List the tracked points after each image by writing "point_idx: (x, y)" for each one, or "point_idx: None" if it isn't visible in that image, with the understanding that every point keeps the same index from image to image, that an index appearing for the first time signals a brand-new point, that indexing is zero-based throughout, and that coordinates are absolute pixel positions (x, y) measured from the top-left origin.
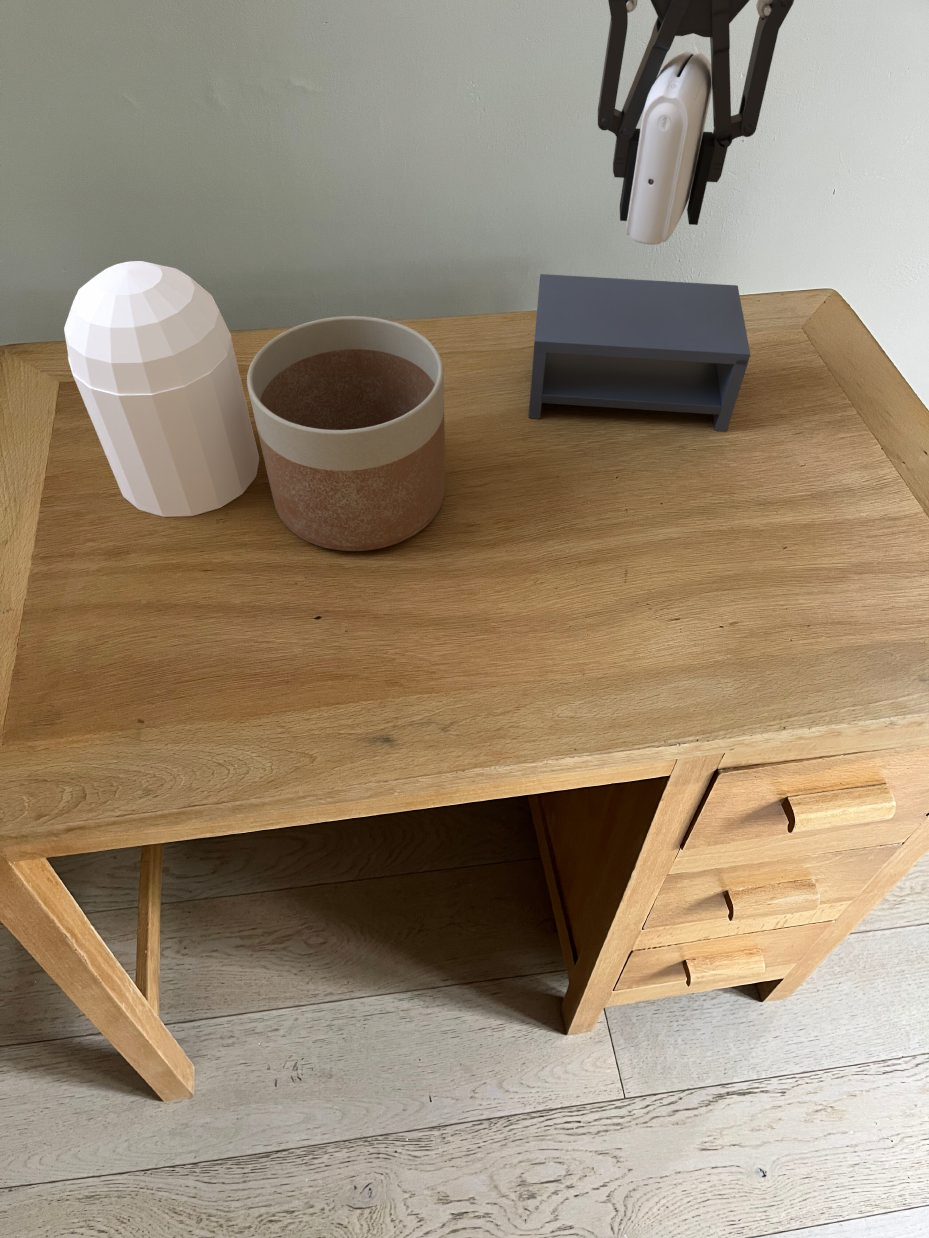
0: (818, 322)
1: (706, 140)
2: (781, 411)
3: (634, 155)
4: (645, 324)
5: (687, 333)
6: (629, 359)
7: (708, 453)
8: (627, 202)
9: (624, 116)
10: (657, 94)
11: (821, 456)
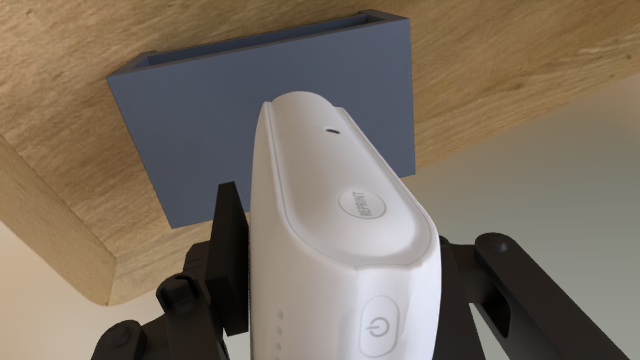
0: (102, 273)
1: (231, 299)
2: (90, 112)
3: None
4: None
5: (207, 101)
6: None
7: (150, 3)
8: None
9: (457, 270)
10: (427, 279)
11: (13, 38)
